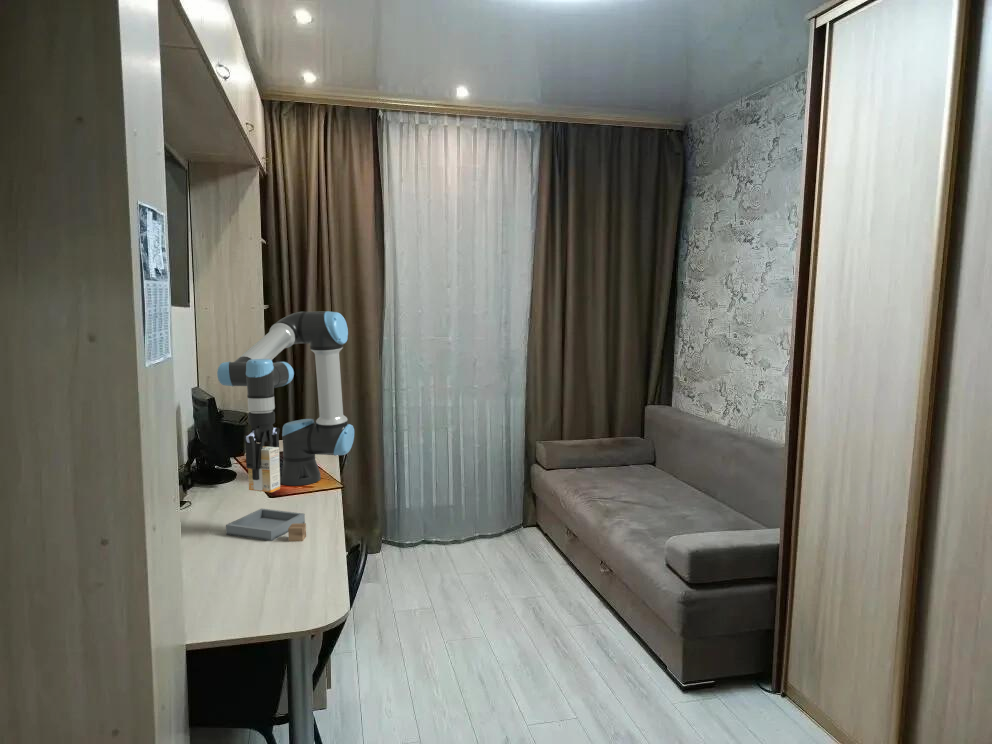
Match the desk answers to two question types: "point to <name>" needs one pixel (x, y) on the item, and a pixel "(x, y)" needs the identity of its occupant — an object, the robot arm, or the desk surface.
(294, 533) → the walnut block
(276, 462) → the supplement box
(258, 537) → the tray
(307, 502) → the desk surface
